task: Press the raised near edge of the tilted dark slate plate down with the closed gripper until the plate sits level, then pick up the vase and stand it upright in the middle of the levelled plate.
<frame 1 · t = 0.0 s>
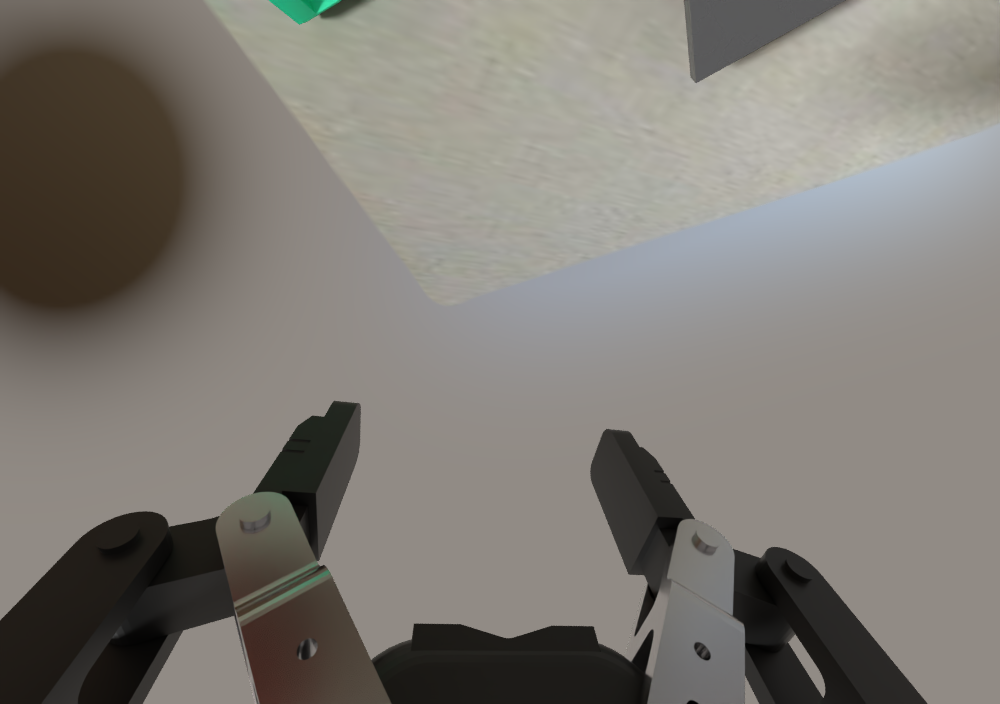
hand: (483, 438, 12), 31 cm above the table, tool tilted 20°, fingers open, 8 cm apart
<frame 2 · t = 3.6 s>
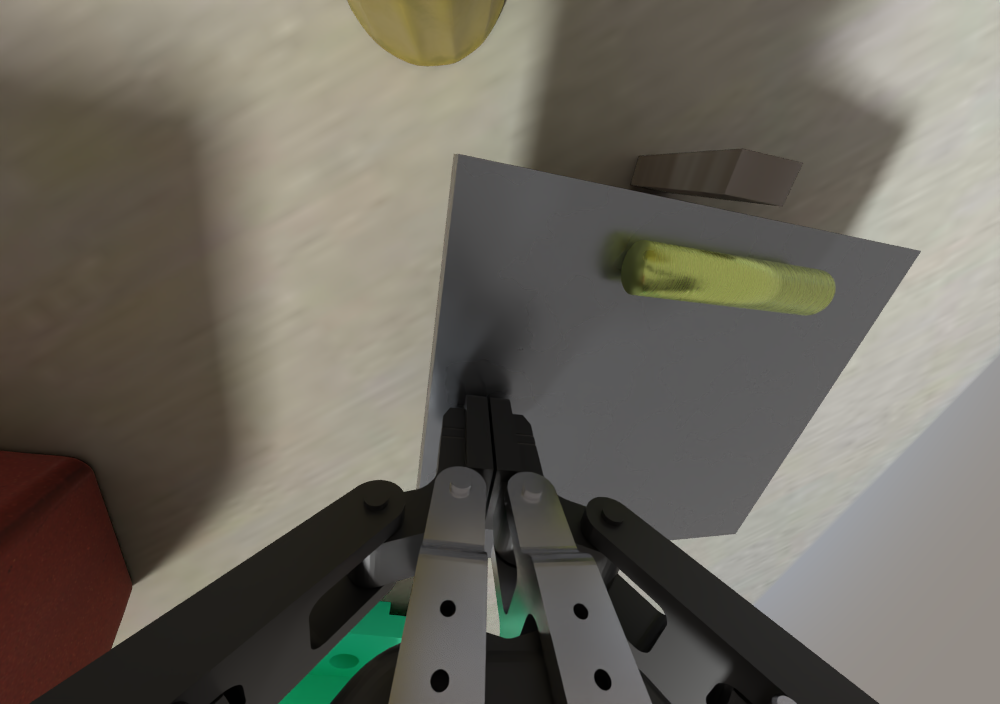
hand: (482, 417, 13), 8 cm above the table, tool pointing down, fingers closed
tilt plate: (654, 422, 15), point 7 cm above the table, hinge at 8.0°, touching gripper
camera mount: (353, 621, 31), on the table
levelling stand: (598, 348, 21), on the table
plant pot: (6, 521, 23), on the table
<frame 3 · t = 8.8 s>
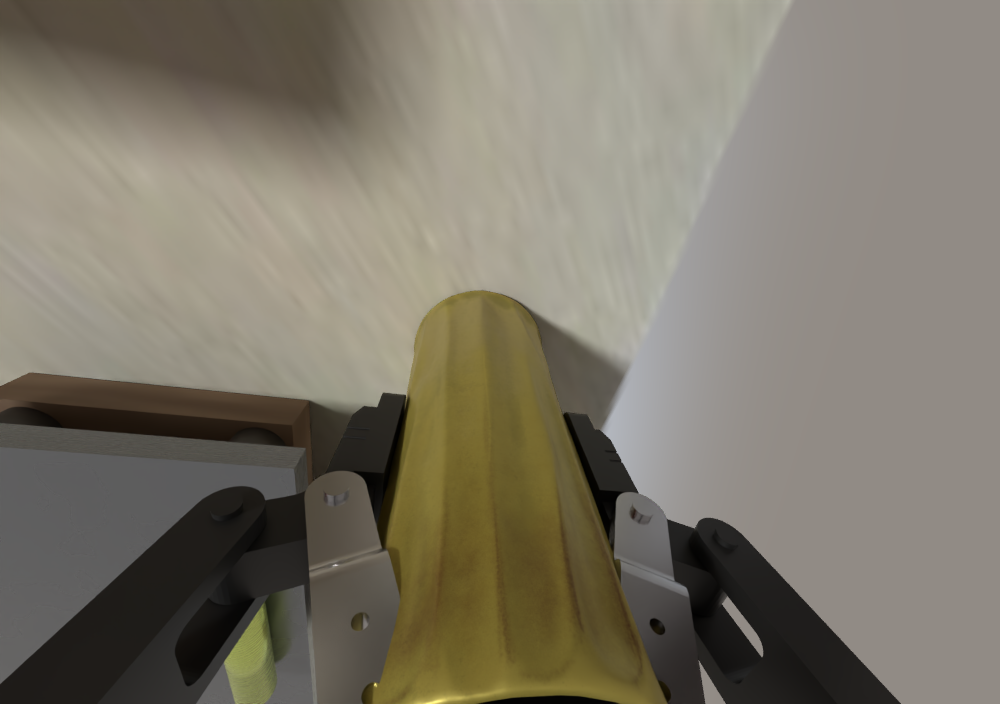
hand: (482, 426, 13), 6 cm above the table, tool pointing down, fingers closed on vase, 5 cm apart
tilt plate: (89, 629, 15), point 7 cm above the table, hinge at 0.7°
vase: (478, 347, 18), on the table, touching gripper
levelling stand: (200, 493, 21), on the table
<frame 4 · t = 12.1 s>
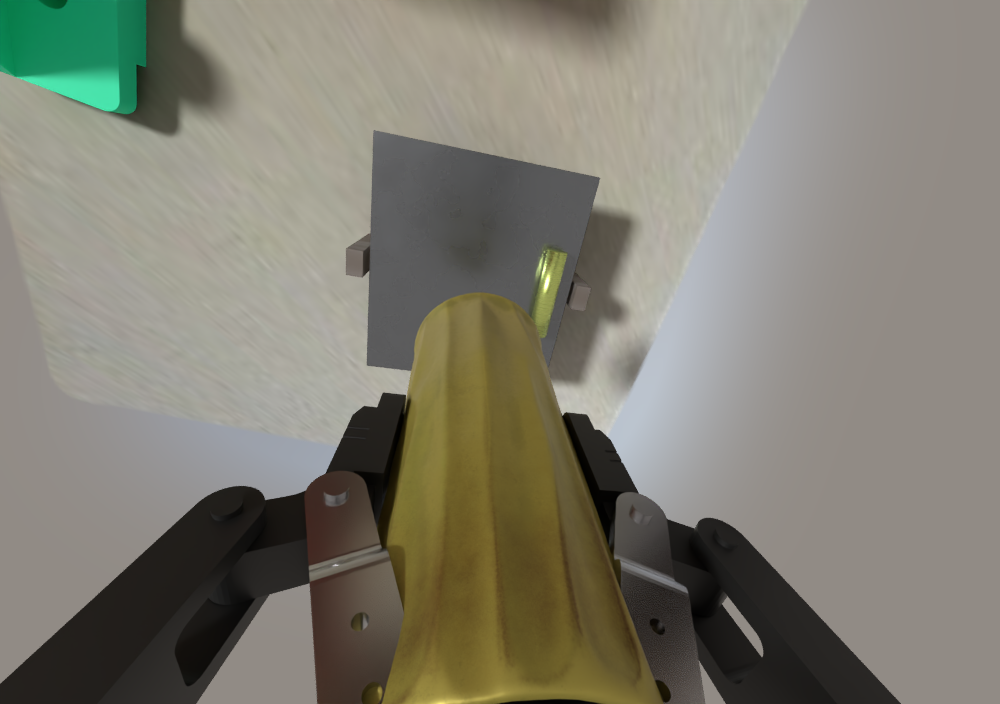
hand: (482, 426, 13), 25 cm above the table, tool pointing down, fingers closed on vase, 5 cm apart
tilt plate: (472, 281, 29), point 7 cm above the table, hinge at 0.7°
vase: (478, 349, 18), point 19 cm above the table, touching gripper
camera mount: (87, 4, 26), on the table
levelling stand: (471, 262, 36), on the table
when the fingers open (13 cm above the table, at t = 15.4 s): vase stays where it is, resting on tilt plate.
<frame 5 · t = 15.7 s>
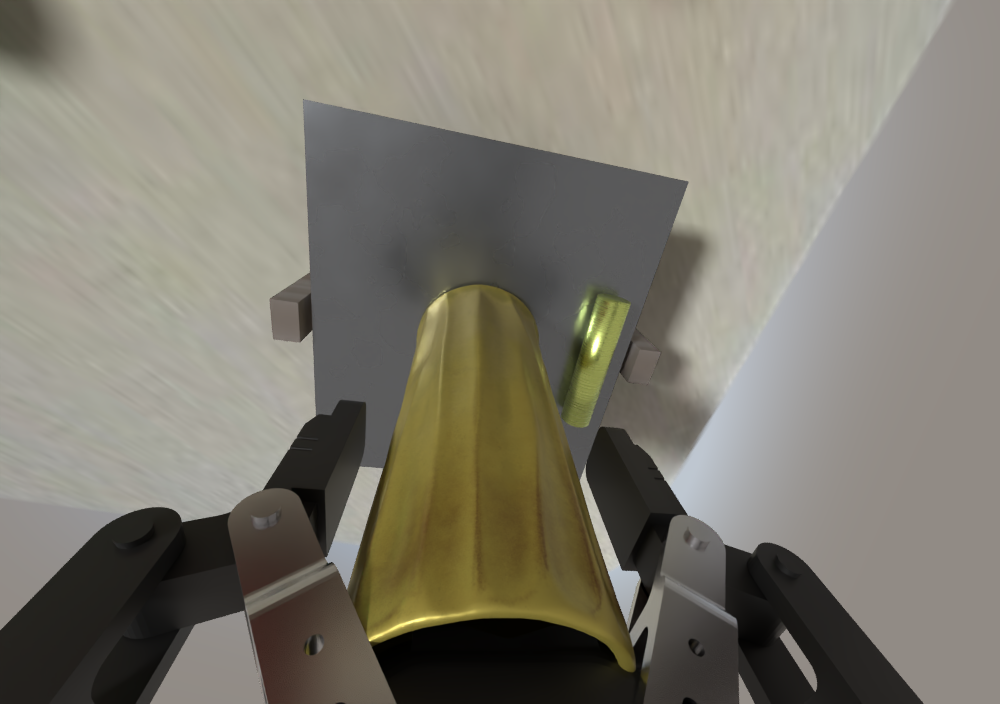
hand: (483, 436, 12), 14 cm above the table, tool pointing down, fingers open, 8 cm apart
tilt plate: (477, 344, 19), point 7 cm above the table, hinge at 0.3°, touching vase
vase: (478, 340, 19), point 6 cm above the table, touching tilt plate
levelling stand: (475, 301, 25), on the table
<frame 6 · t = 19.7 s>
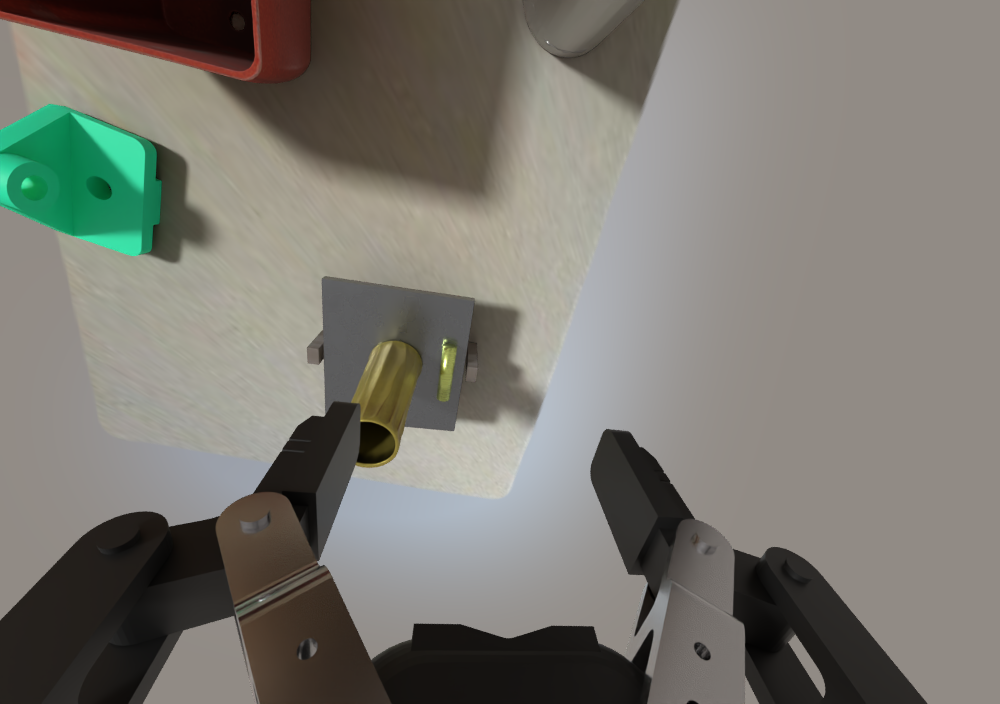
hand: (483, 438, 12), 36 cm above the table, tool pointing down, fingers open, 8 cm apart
tilt plate: (395, 364, 43), point 7 cm above the table, hinge at 0.3°, touching vase
vase: (396, 362, 44), point 6 cm above the table, touching tilt plate
camera mount: (122, 187, 39), on the table
levelling stand: (404, 340, 49), on the table
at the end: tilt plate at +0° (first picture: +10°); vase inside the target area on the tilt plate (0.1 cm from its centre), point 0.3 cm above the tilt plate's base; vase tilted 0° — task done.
